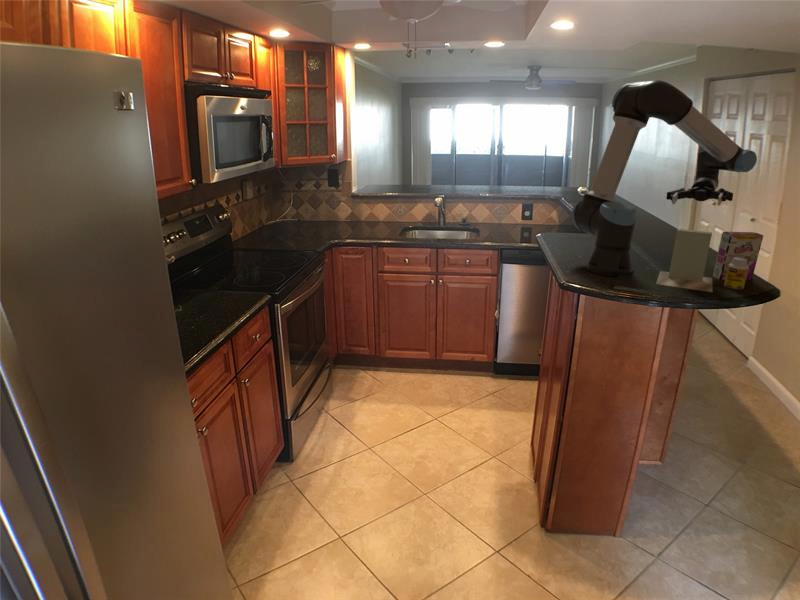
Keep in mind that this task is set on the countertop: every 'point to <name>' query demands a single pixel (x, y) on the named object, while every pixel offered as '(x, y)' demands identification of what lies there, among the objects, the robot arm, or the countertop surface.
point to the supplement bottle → (736, 274)
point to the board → (685, 282)
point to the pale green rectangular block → (690, 255)
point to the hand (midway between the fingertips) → (695, 200)
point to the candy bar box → (737, 251)
